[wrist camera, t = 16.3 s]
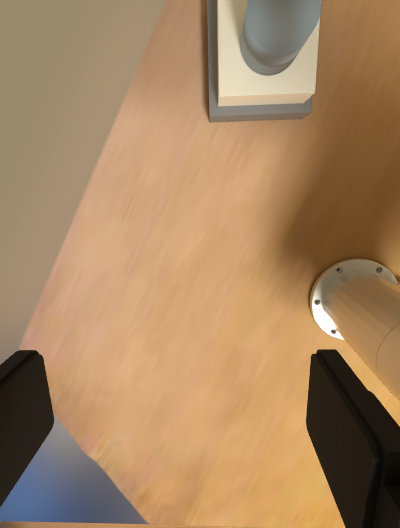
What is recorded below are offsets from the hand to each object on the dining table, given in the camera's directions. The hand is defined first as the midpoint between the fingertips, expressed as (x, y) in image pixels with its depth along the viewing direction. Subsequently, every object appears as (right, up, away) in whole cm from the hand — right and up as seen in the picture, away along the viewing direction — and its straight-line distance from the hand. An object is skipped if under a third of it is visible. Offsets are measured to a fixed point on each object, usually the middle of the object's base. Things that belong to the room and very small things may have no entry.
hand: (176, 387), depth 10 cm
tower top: (+8, +28, +23) cm, 37 cm away
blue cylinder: (+8, +27, +20) cm, 34 cm away
